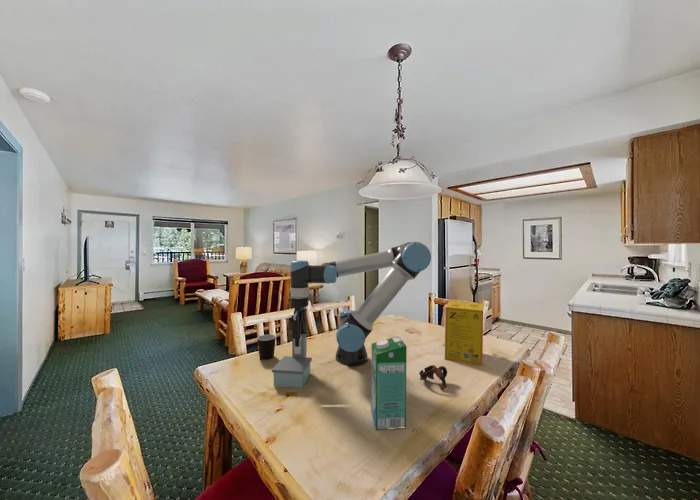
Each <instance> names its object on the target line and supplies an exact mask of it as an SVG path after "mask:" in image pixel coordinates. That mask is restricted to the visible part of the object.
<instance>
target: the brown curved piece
mask: <svg viewBox="0 0 700 500" xmlns="http://www.w3.org/2000/svg"><path fill="white" fill-rule="evenodd" d="M418 374H419V376H420V377H419V380H420V381H424V382H425V383H426V382H427V379H430V380H435V377H434V374H435V376H436V377H437V378H438V379H439V381H441V383H440V384H438V386H439V388H440V391H441V390H442V391H444V390H445V389H446V388H447V387H448V385H447V382H446V377H447V375H448V370H447V368H446V367H445V366H444V365H440V366H439V367H437V366H436V365H435V364H431V365H428V366H427V367H425V368H424V370H420V371H419V373H418Z"/></svg>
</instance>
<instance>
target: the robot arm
mask: <svg viewBox="0 0 700 500" xmlns="http://www.w3.org/2000/svg"><path fill="white" fill-rule="evenodd" d="M431 261H432V252H431V251H430V249H429V248H428V247H427V246H426V244H423V243H422V242H420V241H411V242H405V243H403V244H400V245H398V246H394V247H390V248H389V249H388V250H384V251H379V252H375V253H369V254H364V255H360V256H355V257H350V258H346V259H341V260H336V261H331V262H324V263H322V264H321V265H311V264H310V263H309V261H308V260H291V262H290V272H289V273H290V288H289V292H290V307H292V308H294V311H293V315H291V321H292V322H291V323H292V325H291V326H292V328H291V330H292V331H291V333H292V335H291V336H292V337H291V340H292V339H294V354H301V338H300V335H307V308H306V307H308V306H309V297H308V296H309V289H310V287H309V284H327V285H329V284H335V283H336V282H337V280H338V278H340V277H346V276H350V275H354V274H355V275H356V274H360V273H367V272H371V271H376V270H381V269H387V268H390V269H389V271H388V272H387V273H386V274H385V276H384V277H383V278H382V279H381V281H379V283H378V284H377V285H376V286H375V288H374V289H373V290H372V292H371V293H370V294H369V295H368V296H367V298H366V299H365V300H364V301H363V303H361V305H360V306H359V307H358V309H357V310H351V309H349V310H347V309H346V310H340V312H339V316H338V319H339V321H338V328H337V331H336V335H335V336H336V338H335V339H336V343H337V344H338V345H337V346H338V347H337V349H336V353H335V361H336V362H337V363H339V364H342V365H346V366H348V367H356V366H362V365H364V364H366V363H367V362H368V358H369V357H368V351H367V349H366V346H365V342H366V339H367V338H368V336H369V335H371V333H372V332H373V330H374V328H373V326H374V325H373V324H374V323H375V322H376V321H377V320H378V318H379V317H380V316H381V315H382V314H383V312H385V309H386V308H387V307H388V306H389V305H390V304H391V302H392V301H393V300H394V299H395V298H396V296H397V295H398V293H400V292H401V290H402V288H404V286H405V285H406V284H407V282H409V281H410V280H415V279H416V278H417V277H418V275H419V274H420V273H421V272H423V271H424V270H427V268H428V267H429V266H430V263H431Z"/></svg>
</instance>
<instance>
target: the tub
mask: <svg viewBox="0 0 700 500" xmlns="http://www.w3.org/2000/svg"><path fill="white" fill-rule="evenodd" d="M310 375H311V363H310V364H309V365H308V367H307V368H306V370H305V372H304V373H303V374H290V373H275V372H273V386H274V387H280V388H281V387H283V388H284V387H285V388H297V389H302V388H303V386H304V385H305V383H306V382H307V380H308V378H309V376H310Z"/></svg>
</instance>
